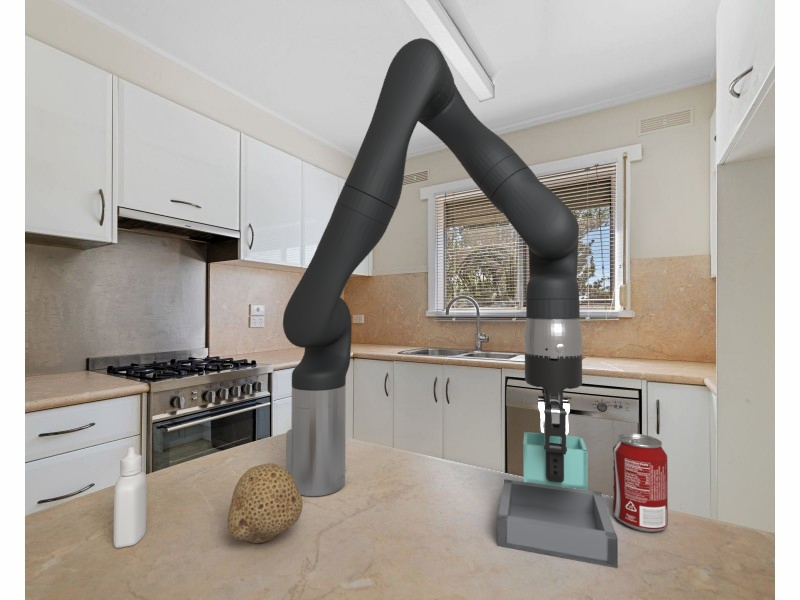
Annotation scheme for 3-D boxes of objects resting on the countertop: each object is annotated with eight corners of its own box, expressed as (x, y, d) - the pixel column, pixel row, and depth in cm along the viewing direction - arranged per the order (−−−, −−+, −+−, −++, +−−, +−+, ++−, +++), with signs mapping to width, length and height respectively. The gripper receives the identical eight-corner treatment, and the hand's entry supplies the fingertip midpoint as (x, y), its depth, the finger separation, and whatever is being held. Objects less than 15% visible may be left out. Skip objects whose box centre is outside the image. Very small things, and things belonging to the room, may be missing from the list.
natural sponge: (313, 528, 57) (314, 456, 57) (279, 568, 48) (280, 483, 48) (256, 519, 59) (257, 450, 59) (214, 556, 50) (215, 475, 51)
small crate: (523, 481, 55) (523, 444, 55) (524, 465, 61) (524, 431, 61) (587, 490, 53) (587, 451, 53) (582, 472, 58) (582, 437, 58)
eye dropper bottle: (97, 547, 52) (98, 454, 52) (132, 524, 58) (133, 439, 58) (127, 551, 51) (128, 456, 52) (160, 527, 57) (161, 441, 57)
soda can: (676, 538, 55) (676, 449, 55) (621, 532, 56) (621, 445, 56) (655, 513, 61) (655, 433, 61) (607, 508, 63) (607, 430, 63)
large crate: (497, 545, 53) (497, 518, 53) (504, 501, 65) (504, 479, 65) (617, 567, 48) (617, 538, 49) (601, 515, 60) (601, 492, 60)
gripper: (525, 345, 65) (526, 450, 65) (523, 356, 51) (524, 490, 51) (576, 346, 63) (577, 456, 62) (588, 358, 49) (590, 498, 49)
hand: (553, 470), depth 57 cm, fingers closed on small crate, 6 cm apart
